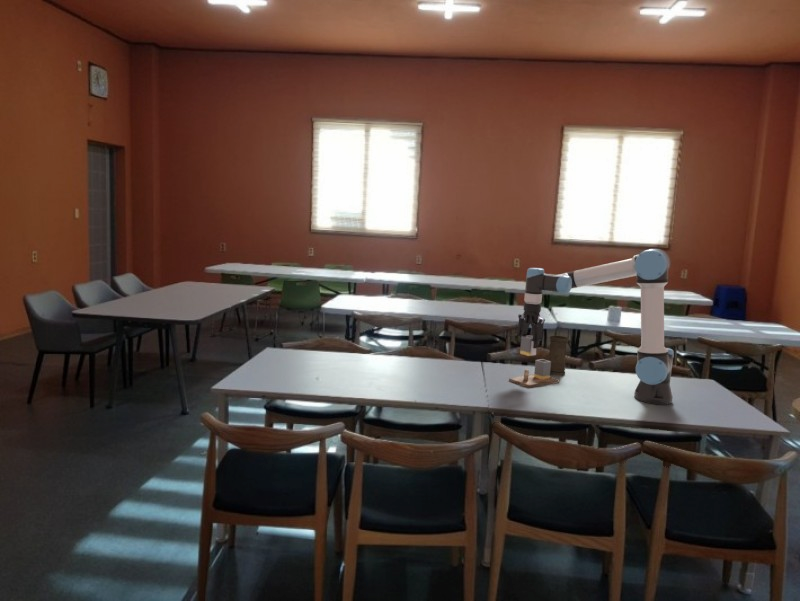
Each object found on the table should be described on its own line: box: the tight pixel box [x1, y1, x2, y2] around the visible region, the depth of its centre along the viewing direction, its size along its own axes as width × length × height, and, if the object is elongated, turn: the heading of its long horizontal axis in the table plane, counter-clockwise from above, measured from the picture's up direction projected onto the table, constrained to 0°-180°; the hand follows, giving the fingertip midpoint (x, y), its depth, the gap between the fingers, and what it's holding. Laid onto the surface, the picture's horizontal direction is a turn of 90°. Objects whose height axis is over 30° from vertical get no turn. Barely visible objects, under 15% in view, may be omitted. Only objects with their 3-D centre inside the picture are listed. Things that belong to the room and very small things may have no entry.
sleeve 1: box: [519, 334, 538, 357], centre depth 268 cm, size 5×5×8 cm
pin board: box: [508, 368, 559, 389], centre depth 274 cm, size 12×20×6 cm, turn 127°
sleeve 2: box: [533, 358, 551, 380], centre depth 276 cm, size 5×5×8 cm
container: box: [548, 335, 569, 377], centre depth 290 cm, size 9×9×18 cm
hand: (528, 353), depth 269 cm, fingers closed on sleeve 1, 5 cm apart
